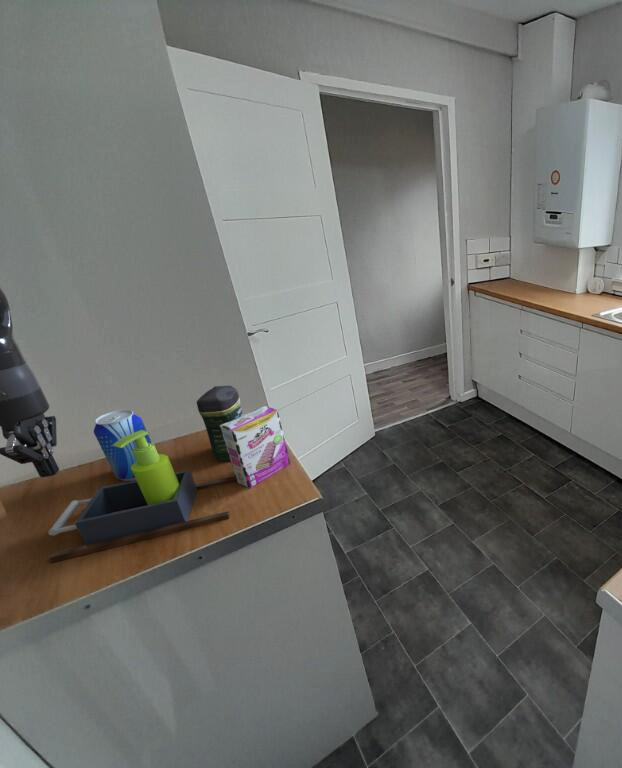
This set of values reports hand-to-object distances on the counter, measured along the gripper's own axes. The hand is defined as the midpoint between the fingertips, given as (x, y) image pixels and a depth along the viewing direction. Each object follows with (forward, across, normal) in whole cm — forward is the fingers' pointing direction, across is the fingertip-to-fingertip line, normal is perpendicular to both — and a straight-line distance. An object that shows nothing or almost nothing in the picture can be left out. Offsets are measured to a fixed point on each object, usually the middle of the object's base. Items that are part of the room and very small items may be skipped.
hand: (50, 474), depth 77 cm
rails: (+14, 0, +13) cm, 19 cm away
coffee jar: (+14, -21, +24) cm, 35 cm away
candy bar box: (+14, -7, +33) cm, 36 cm away
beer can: (+14, -20, +4) cm, 25 cm away
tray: (+14, 0, +9) cm, 16 cm away
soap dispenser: (+14, +1, +15) cm, 21 cm away
